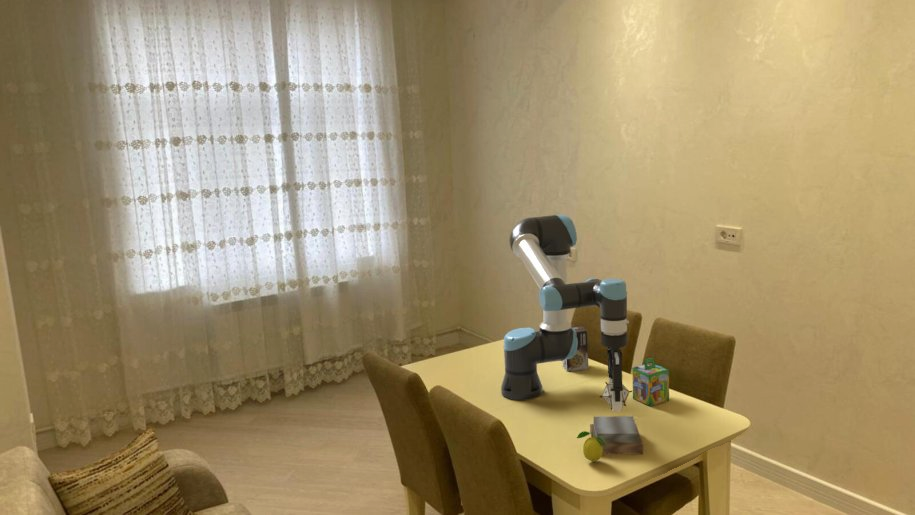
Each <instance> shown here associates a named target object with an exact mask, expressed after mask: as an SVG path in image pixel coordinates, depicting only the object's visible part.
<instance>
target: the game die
mask: <svg viewBox="0 0 915 515" xmlns="http://www.w3.org/2000/svg"><path fill="white" fill-rule="evenodd" d="M604 383H605V384H606V385H605V388H604V389H603V392H602V394H601V395H599V398H602V399H604V400H605V402H606V403H607V404H608V405H609V406H610V410H611V411H613V410H612V391H610V389H612V388H613V383H609V382H607V381H604ZM622 386H623V391H622V406H624V407H627V404H626V402H627V399H628V398H629V395H630V393H633V390H629V389H628V388H627V387H626V386H625V385H624V384H623V383H622Z"/></svg>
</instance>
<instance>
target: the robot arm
mask: <svg viewBox="0 0 915 515" xmlns="http://www.w3.org/2000/svg"><path fill="white" fill-rule="evenodd" d="M577 237H578V236H577V229H576V227H575V223H574V222H573V219H571V217H570V216H569V215H565V214H552V215H543V216H533V217H531V216H530V217H526V218H523V219H521V220H520V221H518V222H517V223H516V224H515V225H514V226H513V227H512V230H511V232H510V234H509V240H508V241H509V247H510V249H511V251H512V252H513V254H514V256H515V257H517V258H519V259H520V260H521V261H522V263H523V265H524V266H525V268H526V270H527V271H528V273H529V274H530V276H531V277H532V279H533V280H534V282H535V284H536V285H537V286H538V288H539V291H538V302H539V304H540V308H541V309H542V310H543V311H542V312H543V314H542V315H543V316H542V317H543V321H542V322H540V324H539V328H538V330H539V331H536V330H535V329H534V328H532V327H520V328H515V329H512V330H510V331H508V332H507V333H506V334H505V335H504V337H503V352H504V353H503V355H504V376H503V380H502V383H501V386H500V391H501V392H500V393H501V395H502V396H503V397H504V398H507V399H510V400H516V401H526V400H527V401H529V400H533V399H536V398H539V397H540V396H541V395H542V394H543V384H542V382H541V381H542V380H541V379H540V376H539V374H538V368H537V367H538V366H537V365H538V364H545V363H552V362H562V361H563V360H566V359H570V358H572V357H573V356H574V355H575V353H576V351H577V345H578V340H577V337H576V336H577V334H576V331H575V330H574V329H573V328H572V324H571V323H570V322H569V321H568V314H567V313H568V310H571V309H579V308H587V307H598V308H600V331H601V333H600V338H601V340H600V343H601V345H602V346H603V347H605V348H607V349H606V350H607V351H606V354H607V374H608V375H607V377H608V383H613V388H612V389H610V391H612V410H611V411H612V412H623V405H622V391H623V386H622V384H623V352H622V350H621V349H622V348H624V347H626V346H627V345H628V333H627V331H628V324H629V323H630V321H629V320H628V290H627V283H626V281H625V280H623V279H618V278H606V279H603V280H602V279H598V278H593V277H592V278H588V279H586V280H584V281H583V282H581V281H580V282H576V283H575V282H574V283H567V275H568V274H567V258H568V256H569V255H571V248H573V247H575V246H576V245H577V240H578V238H577Z"/></svg>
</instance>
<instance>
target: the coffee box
mask: <svg viewBox="0 0 915 515" xmlns="http://www.w3.org/2000/svg"><path fill="white" fill-rule="evenodd" d="M571 327H572V326H571ZM572 328H573V329H574V330H575V331H576V334H577V336H576V337H577V340H578V345H577V351H576V353H575V355H574V356H573V357H572V358H570V359H566V360H563V361H561V362H562V363H561V364H562V367H563V369H564V370H565V371H566V372H574V371H581V370H582V371H583V370H589V350H588V349H589V347H588V345H589V344H588V330H586V328H585V327H584V326H582V325H581V326H574V327H572Z"/></svg>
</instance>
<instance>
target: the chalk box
mask: <svg viewBox="0 0 915 515" xmlns="http://www.w3.org/2000/svg"><path fill="white" fill-rule="evenodd" d="M649 362H650V363H649ZM631 369H632V400H635V401H638V402H639V403H642V404H644V405H647V406H649V407H652V406H655V405H659V404H662V403H667V402H669V401H670V370H669V368H668V369H667V368H665V367H663V366H661V365H657V364H656V362H655V358H654V357H650V358H646V359H643V364H642V365H638V366H634V367H632V368H631ZM666 401H667V402H666Z"/></svg>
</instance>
